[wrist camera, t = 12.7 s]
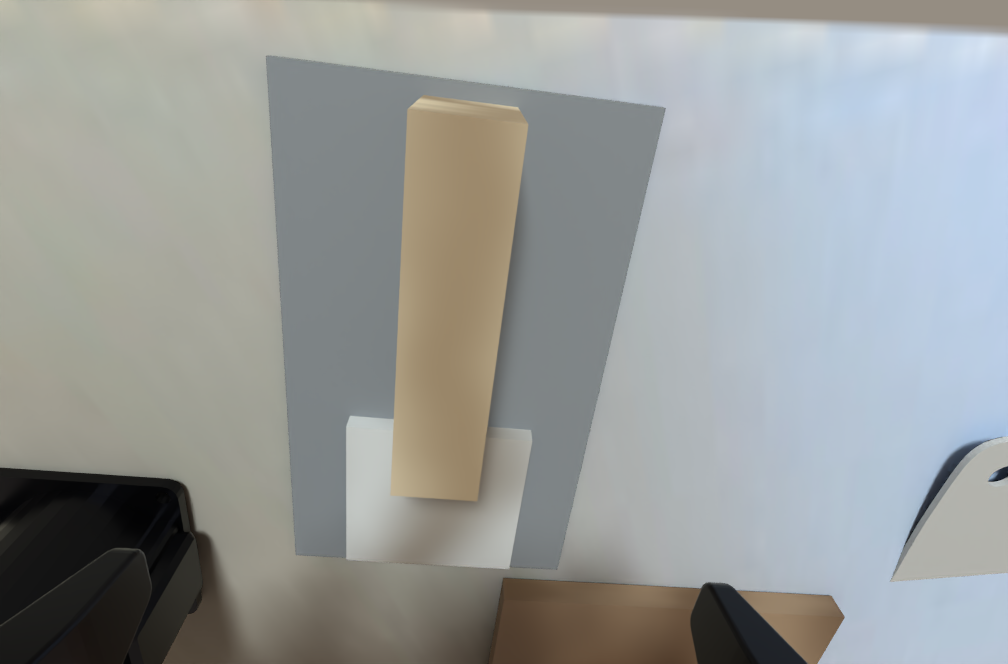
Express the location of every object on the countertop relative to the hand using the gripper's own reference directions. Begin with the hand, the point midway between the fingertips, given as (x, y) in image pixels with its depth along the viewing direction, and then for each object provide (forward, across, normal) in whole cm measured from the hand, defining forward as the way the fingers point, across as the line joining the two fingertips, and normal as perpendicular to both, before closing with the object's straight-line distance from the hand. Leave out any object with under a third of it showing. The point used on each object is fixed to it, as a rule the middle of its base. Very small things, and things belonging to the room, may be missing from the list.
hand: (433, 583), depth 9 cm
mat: (+9, 0, +2) cm, 10 cm away
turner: (+9, 0, +1) cm, 9 cm away
